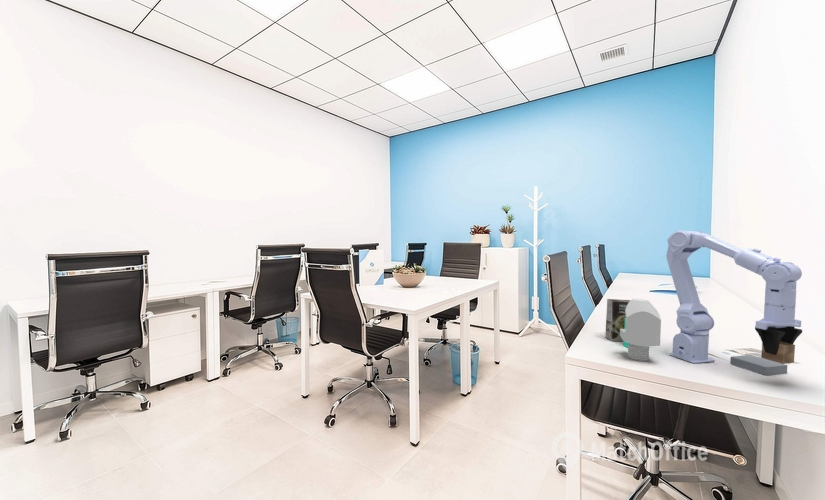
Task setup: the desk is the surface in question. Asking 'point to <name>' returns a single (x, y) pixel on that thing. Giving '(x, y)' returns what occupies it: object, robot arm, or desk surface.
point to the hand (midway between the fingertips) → (776, 352)
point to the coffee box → (615, 318)
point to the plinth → (759, 365)
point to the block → (781, 353)
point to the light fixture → (641, 328)
